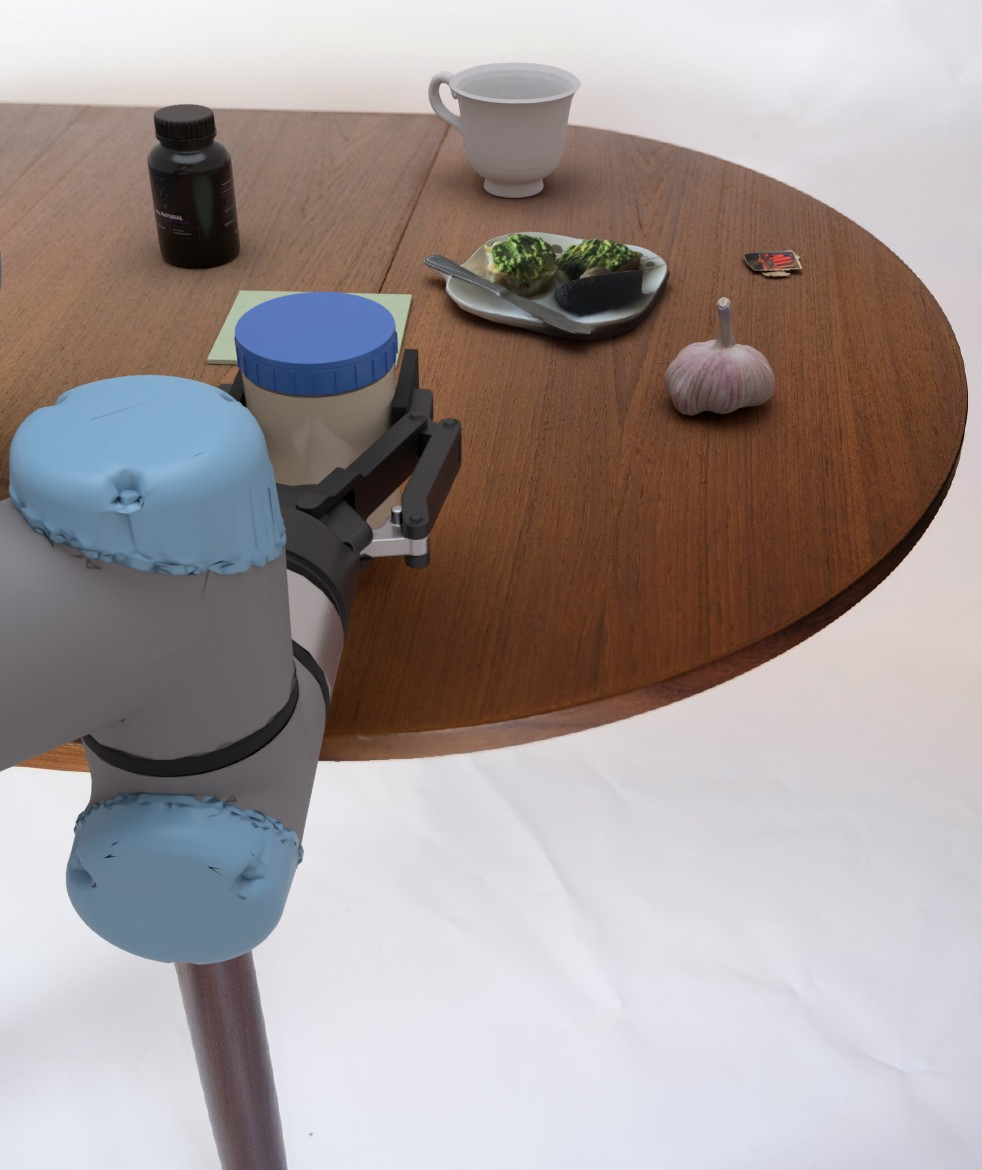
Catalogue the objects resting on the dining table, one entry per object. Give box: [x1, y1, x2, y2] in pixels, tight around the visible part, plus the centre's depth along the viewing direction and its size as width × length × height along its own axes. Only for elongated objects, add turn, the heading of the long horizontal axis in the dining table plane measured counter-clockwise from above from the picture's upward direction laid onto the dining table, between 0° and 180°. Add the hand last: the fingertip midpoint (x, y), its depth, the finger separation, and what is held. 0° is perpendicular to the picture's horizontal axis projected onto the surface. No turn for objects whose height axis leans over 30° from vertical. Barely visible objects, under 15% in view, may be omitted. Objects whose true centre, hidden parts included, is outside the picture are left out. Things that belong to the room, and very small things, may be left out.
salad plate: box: [423, 231, 671, 341], centre depth 103 cm, size 19×18×5 cm
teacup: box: [427, 62, 581, 199], centre depth 121 cm, size 12×15×10 cm
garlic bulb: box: [664, 296, 776, 416], centre depth 87 cm, size 8×7×8 cm
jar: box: [241, 363, 402, 529], centre depth 69 cm, size 8×8×10 cm
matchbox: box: [742, 249, 803, 278], centre depth 108 cm, size 5×5×1 cm
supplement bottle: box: [146, 103, 241, 269], centre depth 107 cm, size 7×7×12 cm
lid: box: [234, 291, 398, 395], centre depth 66 cm, size 8×8×2 cm
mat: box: [206, 289, 413, 370], centre depth 99 cm, size 14×12×1 cm
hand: (335, 368), depth 72 cm, fingers closed on jar, 8 cm apart
